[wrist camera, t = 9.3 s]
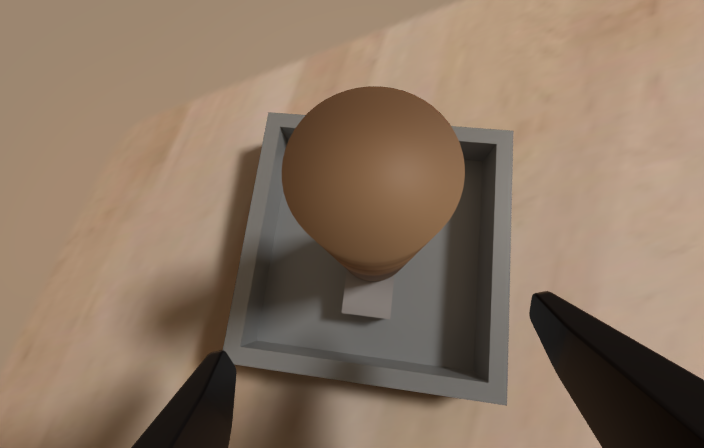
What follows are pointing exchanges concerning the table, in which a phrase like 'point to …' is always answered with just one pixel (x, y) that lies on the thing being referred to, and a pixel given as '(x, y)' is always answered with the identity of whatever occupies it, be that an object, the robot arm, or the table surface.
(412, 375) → the tray
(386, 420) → the table surface
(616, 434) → the robot arm
